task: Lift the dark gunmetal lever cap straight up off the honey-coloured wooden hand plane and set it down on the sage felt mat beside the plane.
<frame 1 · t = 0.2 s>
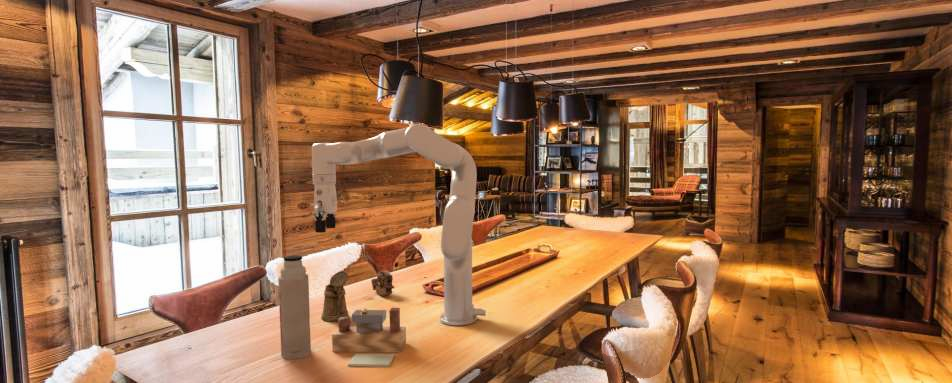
hand: (325, 230, 172), 31 cm above the table, tool pointing down, fingers open, 9 cm apart
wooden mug: (336, 319, 174), on the table
wooden carving: (382, 295, 204), on the table
lever cap: (369, 320, 148), point 8 cm above the table, touching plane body
felt mat: (371, 361, 139), on the table
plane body: (370, 347, 149), on the table
thermos bottle: (296, 353, 145), on the table
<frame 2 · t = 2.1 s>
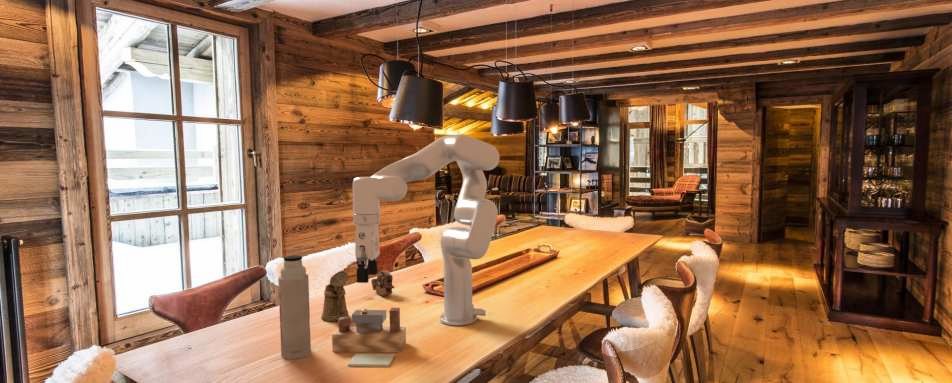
hand: (367, 278, 147), 21 cm above the table, tool pointing down, fingers open, 9 cm apart
nothing on the table moved.
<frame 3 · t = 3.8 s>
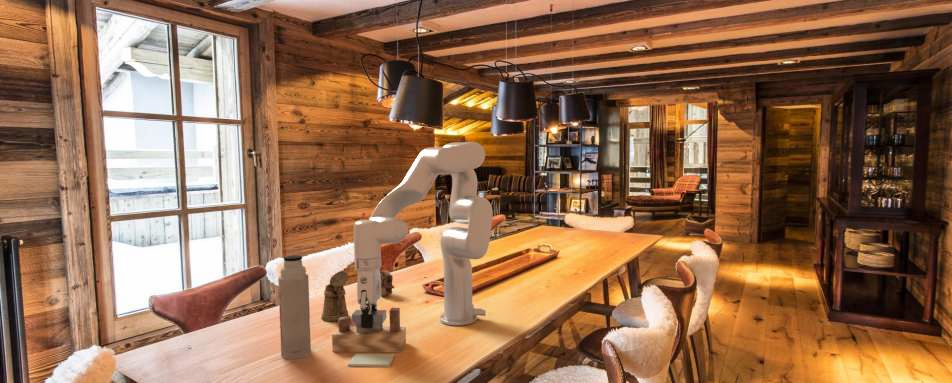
hand: (369, 323, 148), 7 cm above the table, tool pointing down, fingers closed on lever cap, 4 cm apart
lever cap: (369, 320, 148), point 8 cm above the table, touching gripper, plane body
everything else where it was.
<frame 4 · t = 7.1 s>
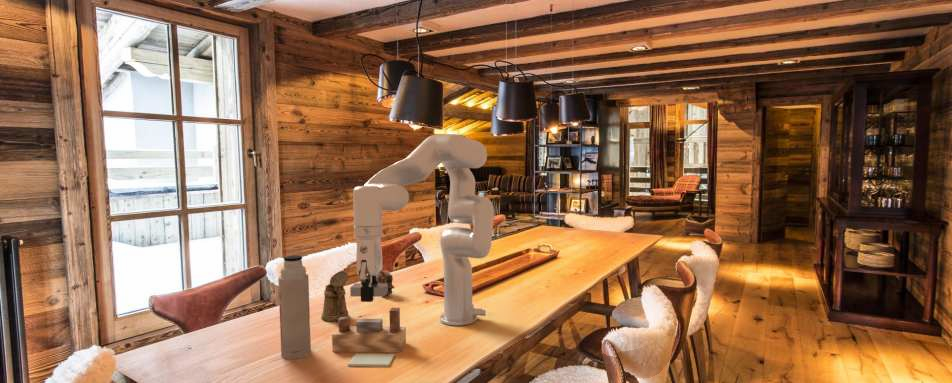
hand: (369, 297, 137), 18 cm above the table, tool pointing down, fingers closed on lever cap, 4 cm apart
lever cap: (369, 294, 137), point 19 cm above the table, touching gripper
everything else where it was.
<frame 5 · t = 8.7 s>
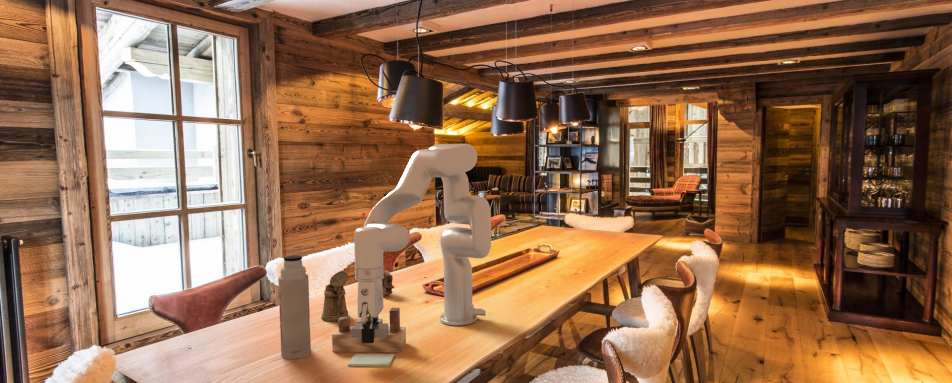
hand: (370, 338, 138), 6 cm above the table, tool pointing down, fingers closed on lever cap, 4 cm apart
lever cap: (370, 334, 138), point 7 cm above the table, touching gripper
everything else where it was.
when the fingers open (1 cm above the table, at t = 10.2 s): lever cap drops 2 cm, resting on felt mat.
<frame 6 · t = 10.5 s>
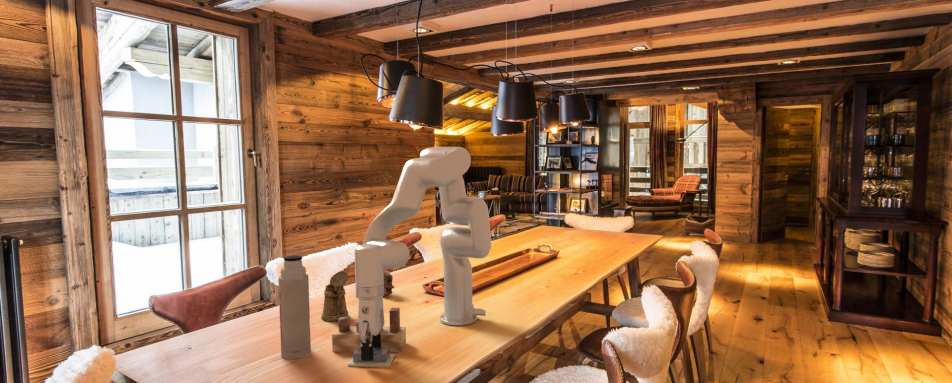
hand: (371, 353, 138), 2 cm above the table, tool pointing down, fingers open, 7 cm apart
lever cap: (371, 358, 139), point 1 cm above the table, touching felt mat
everything else where it was.
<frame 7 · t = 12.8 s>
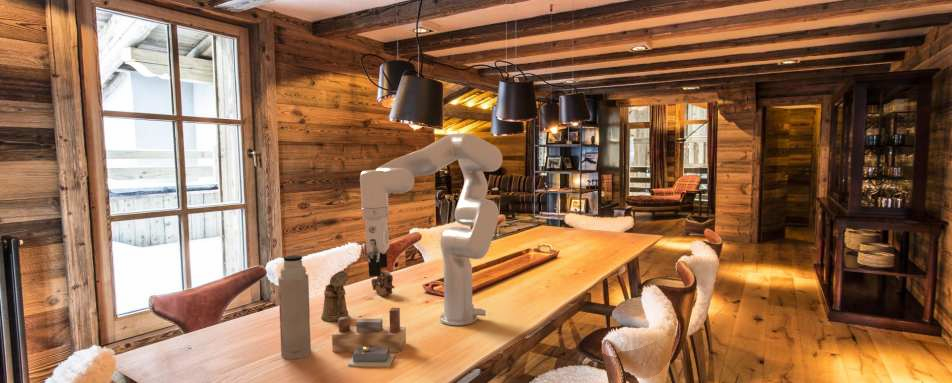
hand: (378, 271, 147), 22 cm above the table, tool pointing down, fingers open, 9 cm apart
nothing on the table moved.
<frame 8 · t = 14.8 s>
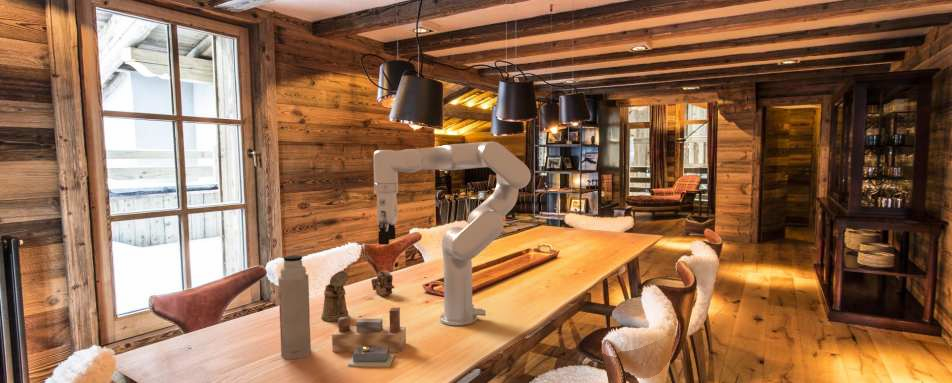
hand: (387, 241, 163), 28 cm above the table, tool pointing down, fingers open, 9 cm apart
nothing on the table moved.
at the end: lever cap inside the target area on the felt mat (0.1 cm from its centre), point 0.6 cm above the felt mat's base; lever cap touching felt mat; lever cap tilted 0° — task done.
